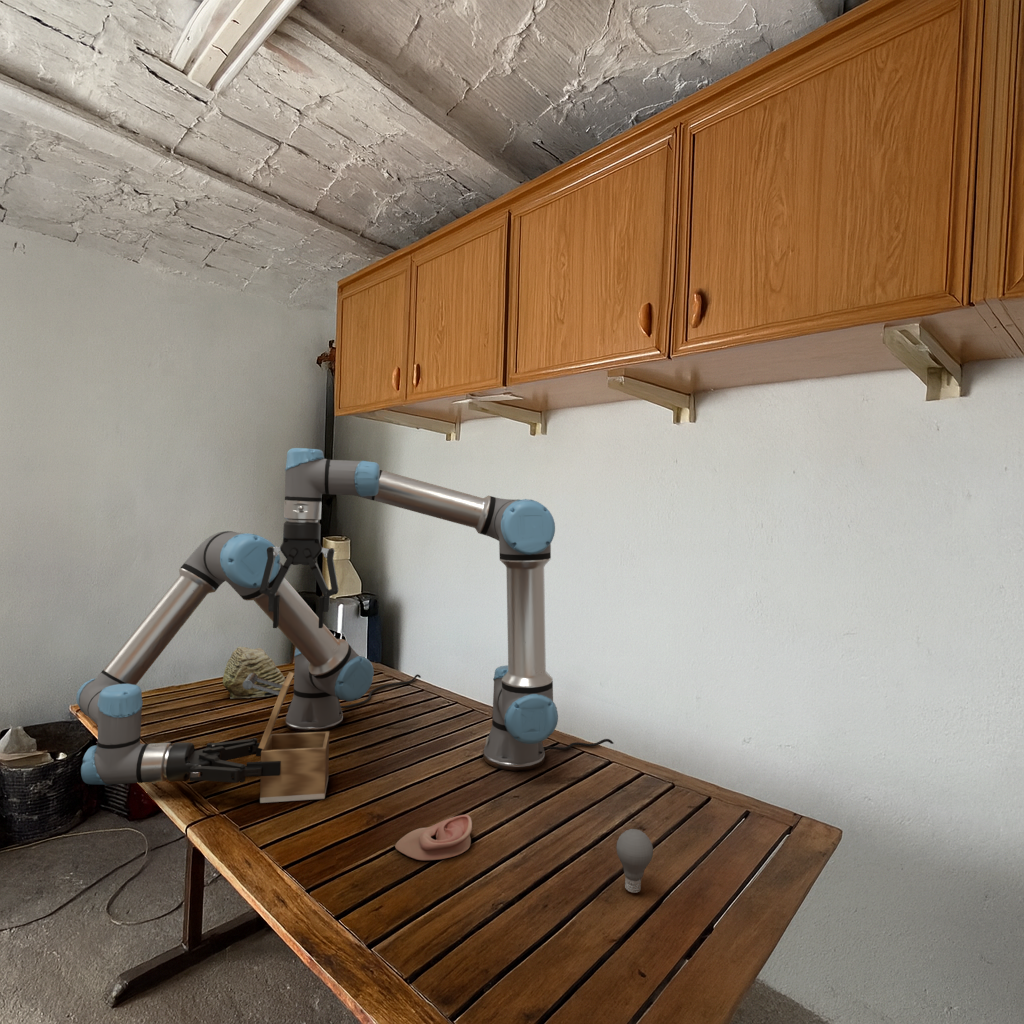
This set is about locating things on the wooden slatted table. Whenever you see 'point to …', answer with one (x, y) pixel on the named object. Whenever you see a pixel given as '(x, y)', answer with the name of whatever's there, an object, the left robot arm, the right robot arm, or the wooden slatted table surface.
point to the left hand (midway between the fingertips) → (283, 757)
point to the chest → (296, 767)
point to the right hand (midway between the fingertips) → (298, 626)
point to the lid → (281, 694)
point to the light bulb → (634, 857)
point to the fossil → (248, 663)
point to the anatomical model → (438, 839)
